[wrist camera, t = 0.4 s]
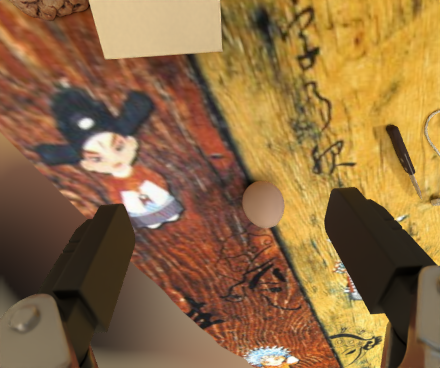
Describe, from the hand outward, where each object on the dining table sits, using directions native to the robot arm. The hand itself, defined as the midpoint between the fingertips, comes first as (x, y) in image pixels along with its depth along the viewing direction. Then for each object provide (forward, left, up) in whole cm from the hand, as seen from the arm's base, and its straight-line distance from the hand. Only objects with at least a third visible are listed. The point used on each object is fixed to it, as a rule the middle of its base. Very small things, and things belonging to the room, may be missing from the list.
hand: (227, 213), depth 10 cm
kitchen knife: (+16, +32, -29) cm, 46 cm away
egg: (+19, +7, -29) cm, 35 cm away
